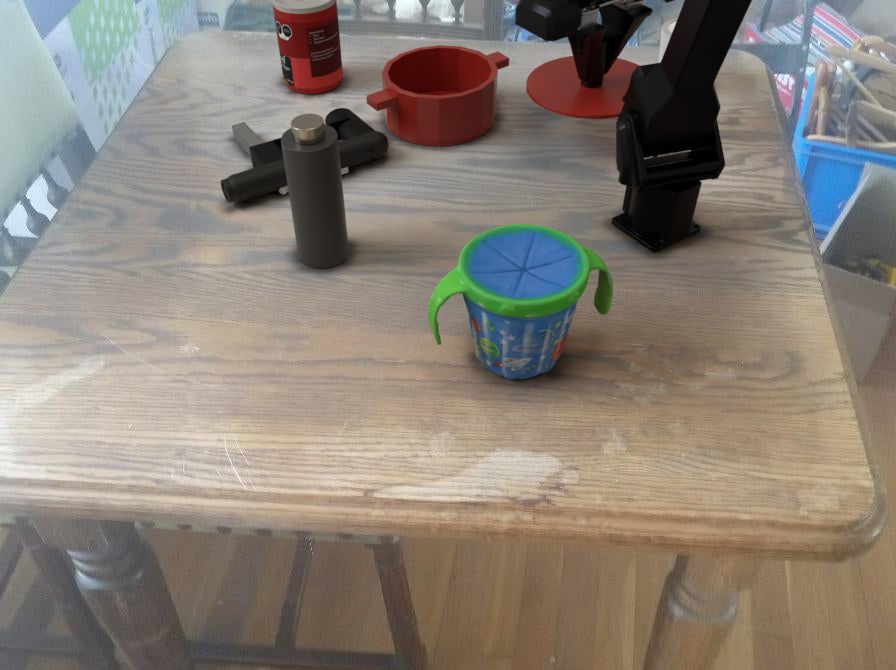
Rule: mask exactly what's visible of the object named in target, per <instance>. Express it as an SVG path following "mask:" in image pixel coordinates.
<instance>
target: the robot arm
mask: <svg viewBox="0 0 896 670" xmlns="http://www.w3.org/2000/svg"><path fill="white" fill-rule="evenodd" d="M674 1H675V0H662V2H663V3H666V4H668V3H671V2H674ZM516 2H517V3H516V6H515V17H514V19H515V20H514V25H516V26H518V27H519V28H522V29H523V30H525V31H527V32H529V33H530V34H533V35H534V36H536V37H538V38H540V39H541V40H544V41H545V42H556V41H559V40H562V39H564V38H565V39H566V38H567V40H568V43H569V46H570V50H571V54H572V56H573V58H574V62H575V66H576V70H577V74H578V77H579V79H580V80H582V81H583V82H586V81H588V79H589V76H590V74H591V72H592V69H593V66H594V63H595V60H596V57H597V53H598V50H599V47H600V44H601V41H602V38H603V35H605V36H607V37H608V39H609V41H608V48H607V56H606V63H605V70H604V75H605V74H607V73H608V71H609V70H610V68H611V67H612V65H613V64H614V62H615V61H616V59H617V58H619V56H620V55H621V53H622V52H623V50H624V49H625V47H626V46H627V44H628V43H629V41H630V40H631V38H632V37H633V36H634V34H636V32H637V31H638V29H639V28H640V27H641V25H642V24H643V23H644V21H645V20H646V18H648V17H651V16H652V14H653V12H654V10H653V8H651V7H650V6H647V5H645V0H518V1H516ZM752 2H753V0H684V1H683V4H682V6H681V9H680V11H679V14H678V16H677V18H678V19H677V18H676V19H677V22H676V24H675V27H674V29H673V32H672V35H671V37H670V40H669V42H668V45H667V48H666V50H665V53H664V55H663V58H662V60H661V62H660V63H659V62H654V63H648V64H642V65H640V66H637V68H636V69H635V70H634V72H633V73H632V75H631V79H630V83H629V87H628V90H627V92H626V94H625V95H624V96H623V98H622V101H623V102H625V103H624V105H623V107H622V110H621V112H620V114H619V116H618V118H616V119H617V120H616V121H615V129H616V130H615V146H616V147H615V163H616V170H617V172H618V173H619V174H618V181H617V182H618V183H619V184H620V185H623V186H625V190H624V196H623V203H622V206H621V207H622V208H621V209H622V211H623V212H622V213H620V214H618V215H615V216H613V217H612V218H611V222H610V223H611V224H612V225H613V226H614V227H616V228H617V229H618V230H620V231H621V232H622V233H624V234H626V235H627V236H629V237H630V238H631V239H633V240H634V241H636V242H637V243H639V244H640V245H641V246H643V247H644V248H646V249H647V250H649V251H650V252H652V253H657V252H660V251H662V250H664V249H666V248H669V247H671V246H672V245H675V244H677V243H680V242H681V241H684V240H686V239H688V238H690V237H692V236H695V235H696V234H699V233H700V232H701V230H702V226H701V225H700V224H699V223H697V222H695V221H694V215H695V212H696V208H697V203H698V200H699V197H700V196H699V195H700V192H701V188H702V182H703V181H706V180H717V179H719V177H720V176H721V174H722V172H723V170H724V169H725V167H726V159H725V155H724V150H723V144H722V139H721V132H720V128H719V122H718V117H719V114H720V111H721V104H720V103H721V102H720V100H719V97H718V93H717V89H716V87H715V82H716V79H717V77H718V74H719V72H720V71H721V69H722V66H723V63H724V62H725V59H726V58H727V55H728V53H729V51H730V49H731V47H732V45H733V43H734V40H735V39H736V36H737V34H738V32H739V30H740V28H741V26H742V23H743V21H744V19H745V17H746V15H747V13H748V10H749V8H750V6H751V4H752ZM599 15H600V18H601V23H600V22H598V16H599Z"/></svg>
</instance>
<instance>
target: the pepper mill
mask: <svg viewBox="0 0 896 670" xmlns="http://www.w3.org/2000/svg"><path fill="white" fill-rule="evenodd" d="M280 138H281V145H282V151H283V158H284V165H285V171H286V178H287V185H288V191H289V192H288V198H289V205H290V210H291V211H290V212H291V217H292V223H293V231H294V237H295V244H296V250H297V257H298V259H299V261H300V262H301V263H302V264H303V265H305V266H307V267H309V268H313V269H329V268H334V267H336V266H338V265H340V264H342V263H343V262H344V261H345V260H346V259H347V258H348V256H349V254H350V248H349V238H348V237H349V236H348V225H347V218H346V217H347V216H346V208H345V197H344V187H343V176H342V175H343V174H342V175H341V165H340V155H339V145H338V142H339V141H338V135H337V132H336V130H335V129H334V128H332V127H331V126H328V125H325V118H323V117H322V116H321V115H319V114H316V113H303V114H299V115H297V116H295V117H294V118H292V120H291V121H290V127H289V128H288V129H287V130H286V131H285V132H283V134H282V135H281V137H280Z"/></svg>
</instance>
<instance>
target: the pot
mask: <svg viewBox="0 0 896 670" xmlns="http://www.w3.org/2000/svg"><path fill="white" fill-rule="evenodd" d="M509 66H510V57H508V56H507V55H505V54H504V53H502V52H500V51H499V50H498V51H495V52H492V53H489V54H485V53H483V52H481V51H480V50H476V49H472V48H469V47H465V46H461V45H443V44H438V45H430V46H421V47H417V48H413V49H411V50H407V51H404V52H400V53H399V54H397V55H396V56H394V57H393V58H391V59H390V60H388V61H387V62H386V64H385V65H384V67H383V70H382V71H381V82H382V84H381V85H382V89H381V90H379V91H378V90H377V91H375V92H372V93H370V94H367V95H366V104H367V105H368V106H370V107H371V108H372V109H373V110H375V111H376V112H380V111H382V110H383V117H384V121H385V125H386V128H387V130H389V132H390V133H392V135H393V136H394V137H395V136H396V137H397V138H398V139H400V140H402V141H405V142H408V143H412V144H416V145H422V146H426V147H427V146H430V147H447V146H456V145H459V144H460V145H461V144H464V143H467V142H470V141H473V140H475V139H478V138H480V137H481V136H483V135H485V134H486V133H487V132H488V131H489V130H491V128H492V126H493V125H494V123H495V118H496V113H497V96H498V95H497V94H498V74H499V73H498V72H499V70H502V69H504V68H507V67H509Z"/></svg>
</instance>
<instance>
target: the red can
mask: <svg viewBox="0 0 896 670" xmlns="http://www.w3.org/2000/svg"><path fill="white" fill-rule="evenodd" d="M337 3H338V2H337V0H272V9H273V17H274V23H275V24H274V25H275V31H276V38H277V45H278V52H279V58H280V59H279V60H280V66H281V70H282V79H283V81H284V83H285V85H286V87H287V88H288V89H289V90H290V91H293V92H295V93H297V94H304V95H319V94H323V93H327V92H330V91H332V90H335V89H336V88H337V87H339V85H340V84H342V80H343V75H344V71H343V60H342V48H341V47H342V46H341V36H340V26H339V25H340V24H339V23H340V22H339V12H338V4H337Z"/></svg>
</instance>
